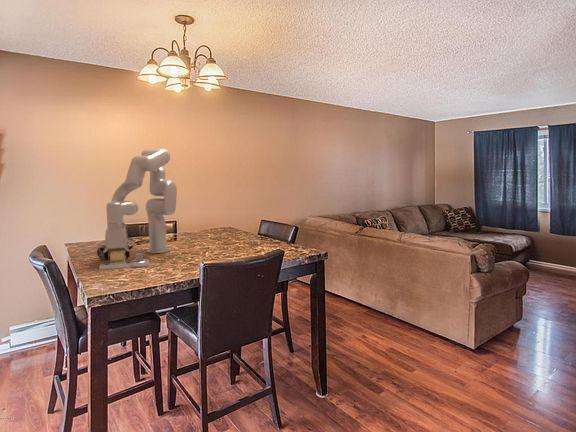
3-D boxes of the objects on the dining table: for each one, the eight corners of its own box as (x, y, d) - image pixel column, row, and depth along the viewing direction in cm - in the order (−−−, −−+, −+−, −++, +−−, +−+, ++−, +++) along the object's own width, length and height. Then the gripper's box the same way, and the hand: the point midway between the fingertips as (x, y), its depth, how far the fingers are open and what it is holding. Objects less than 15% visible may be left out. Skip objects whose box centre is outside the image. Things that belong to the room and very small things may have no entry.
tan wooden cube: (112, 262, 189) (111, 251, 188) (125, 261, 191) (124, 250, 190) (110, 265, 183) (110, 253, 183) (123, 264, 185) (123, 253, 184)
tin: (97, 260, 194) (96, 245, 193) (99, 259, 197) (98, 244, 196) (127, 259, 197) (126, 243, 196) (128, 257, 200) (127, 242, 199)
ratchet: (102, 266, 182) (101, 254, 181) (149, 262, 189) (149, 251, 188) (98, 271, 173) (97, 258, 172) (148, 267, 180) (148, 255, 179)
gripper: (134, 224, 191) (136, 256, 193) (98, 226, 186) (99, 258, 187) (133, 226, 184) (134, 259, 186) (95, 228, 178) (97, 261, 180)
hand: (117, 259), depth 186 cm, fingers open, 9 cm apart
